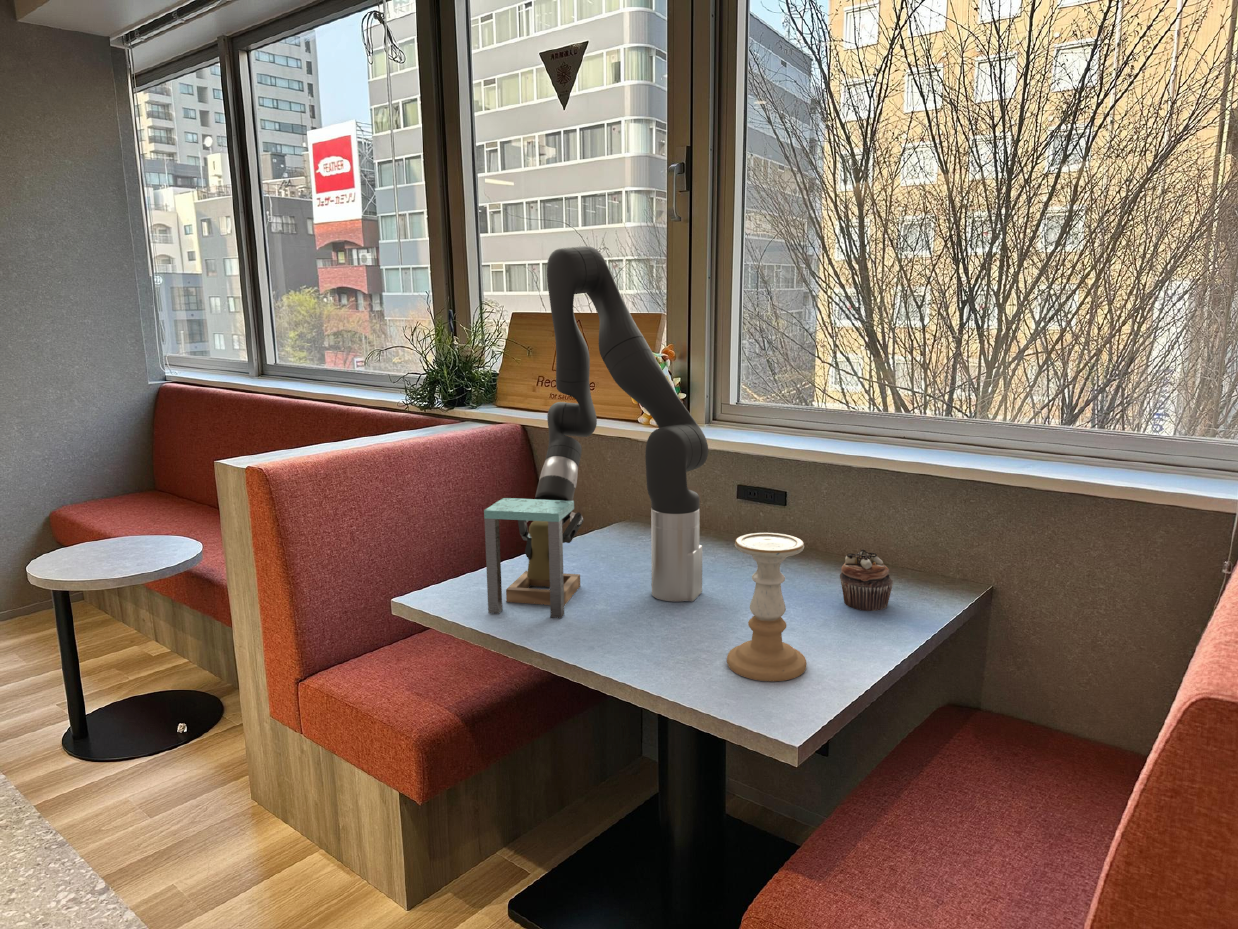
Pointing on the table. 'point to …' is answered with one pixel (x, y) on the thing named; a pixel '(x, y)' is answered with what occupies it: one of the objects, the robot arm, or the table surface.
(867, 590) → the cupcake
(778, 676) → the candle holder
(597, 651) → the table surface
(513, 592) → the socket
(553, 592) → the mint green stool
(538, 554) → the cork
